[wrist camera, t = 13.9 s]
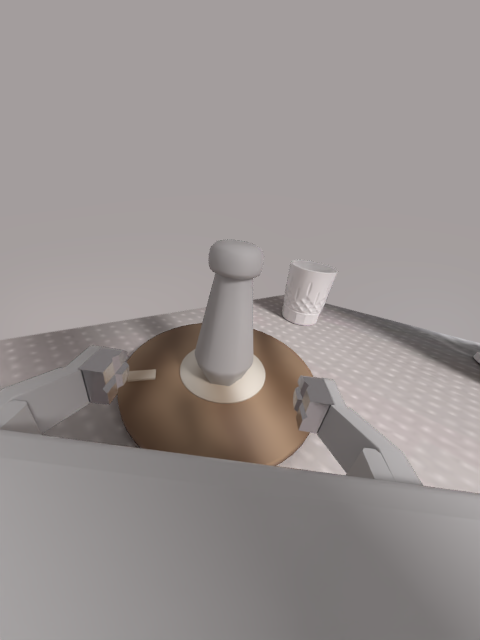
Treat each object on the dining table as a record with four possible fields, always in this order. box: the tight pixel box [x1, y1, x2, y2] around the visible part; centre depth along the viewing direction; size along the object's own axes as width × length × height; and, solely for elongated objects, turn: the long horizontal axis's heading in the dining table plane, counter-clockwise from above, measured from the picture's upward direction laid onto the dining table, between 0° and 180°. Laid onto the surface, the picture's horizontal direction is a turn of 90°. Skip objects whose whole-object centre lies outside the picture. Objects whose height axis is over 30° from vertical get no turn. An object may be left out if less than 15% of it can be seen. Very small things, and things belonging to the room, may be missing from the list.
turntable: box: [117, 323, 313, 466], centre depth 24 cm, size 20×20×1 cm
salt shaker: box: [195, 240, 263, 386], centre depth 20 cm, size 6×6×13 cm
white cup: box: [282, 260, 338, 326], centre depth 40 cm, size 8×8×10 cm
